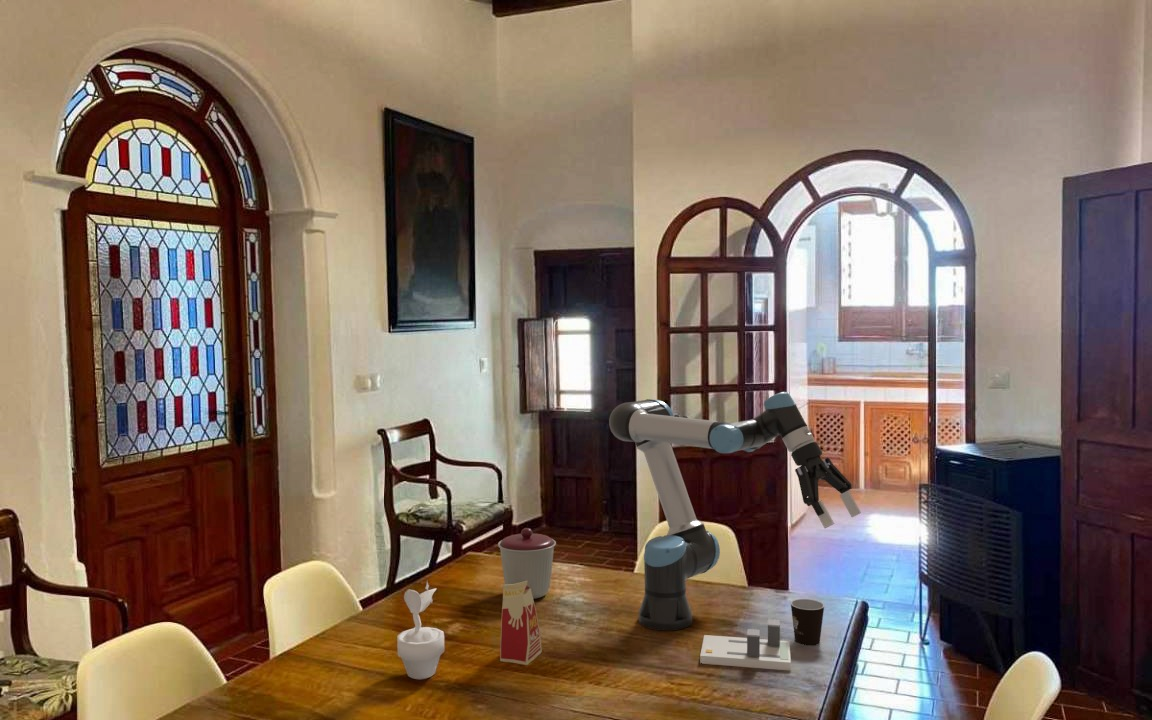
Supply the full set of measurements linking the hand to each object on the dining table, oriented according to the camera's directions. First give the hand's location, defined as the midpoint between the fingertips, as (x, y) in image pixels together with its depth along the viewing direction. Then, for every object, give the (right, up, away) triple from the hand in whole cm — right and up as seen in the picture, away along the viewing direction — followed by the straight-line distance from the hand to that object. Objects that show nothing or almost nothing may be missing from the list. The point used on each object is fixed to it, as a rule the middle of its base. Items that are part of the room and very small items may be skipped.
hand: (843, 520), depth 219 cm
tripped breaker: (-24, -32, -5) cm, 41 cm away
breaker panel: (-25, -34, -1) cm, 43 cm away
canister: (-84, -33, +49) cm, 102 cm away
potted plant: (-106, -36, -9) cm, 112 cm away
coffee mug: (-7, -34, +10) cm, 36 cm away
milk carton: (-83, -35, +1) cm, 90 cm away
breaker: (-17, -32, +2) cm, 36 cm away
